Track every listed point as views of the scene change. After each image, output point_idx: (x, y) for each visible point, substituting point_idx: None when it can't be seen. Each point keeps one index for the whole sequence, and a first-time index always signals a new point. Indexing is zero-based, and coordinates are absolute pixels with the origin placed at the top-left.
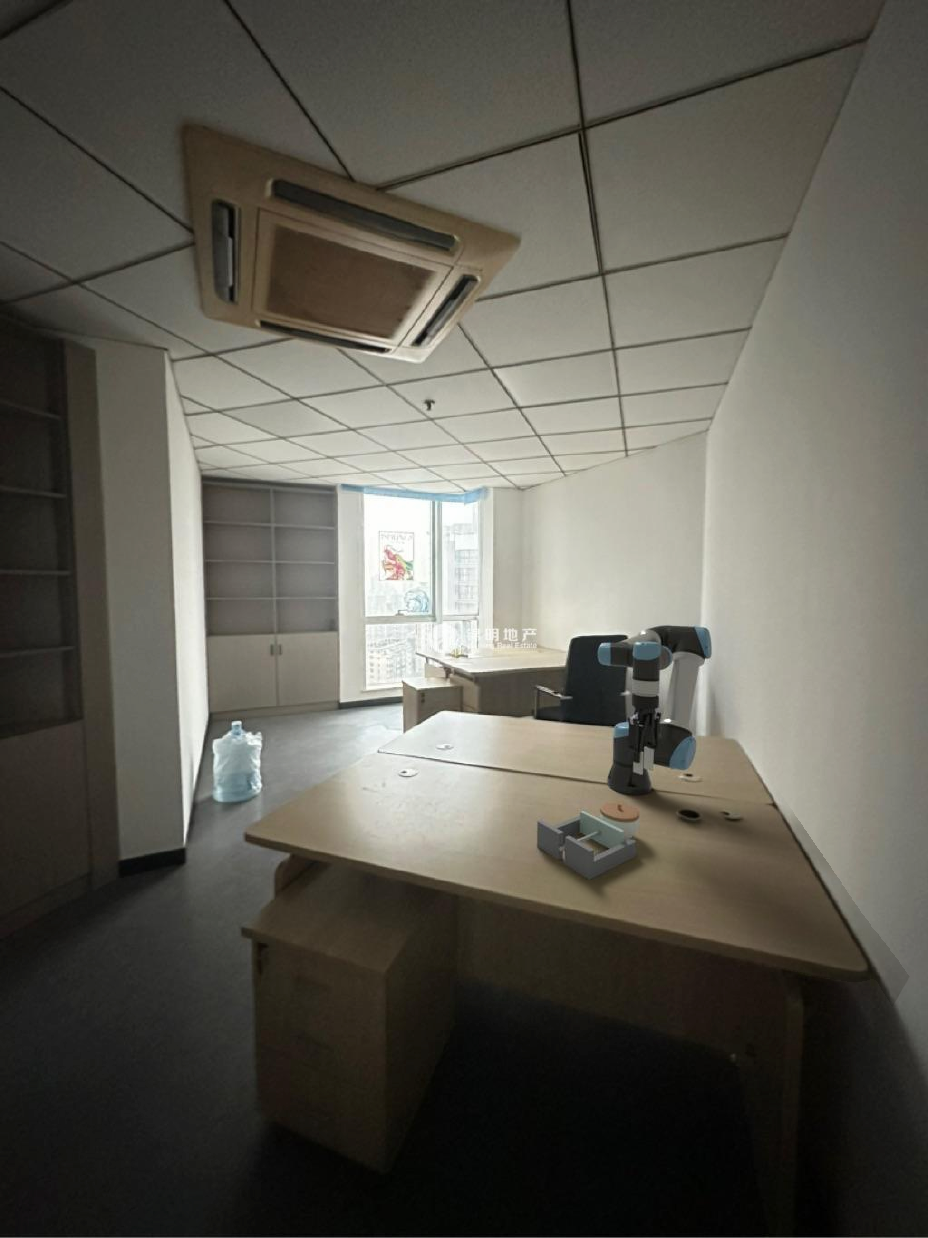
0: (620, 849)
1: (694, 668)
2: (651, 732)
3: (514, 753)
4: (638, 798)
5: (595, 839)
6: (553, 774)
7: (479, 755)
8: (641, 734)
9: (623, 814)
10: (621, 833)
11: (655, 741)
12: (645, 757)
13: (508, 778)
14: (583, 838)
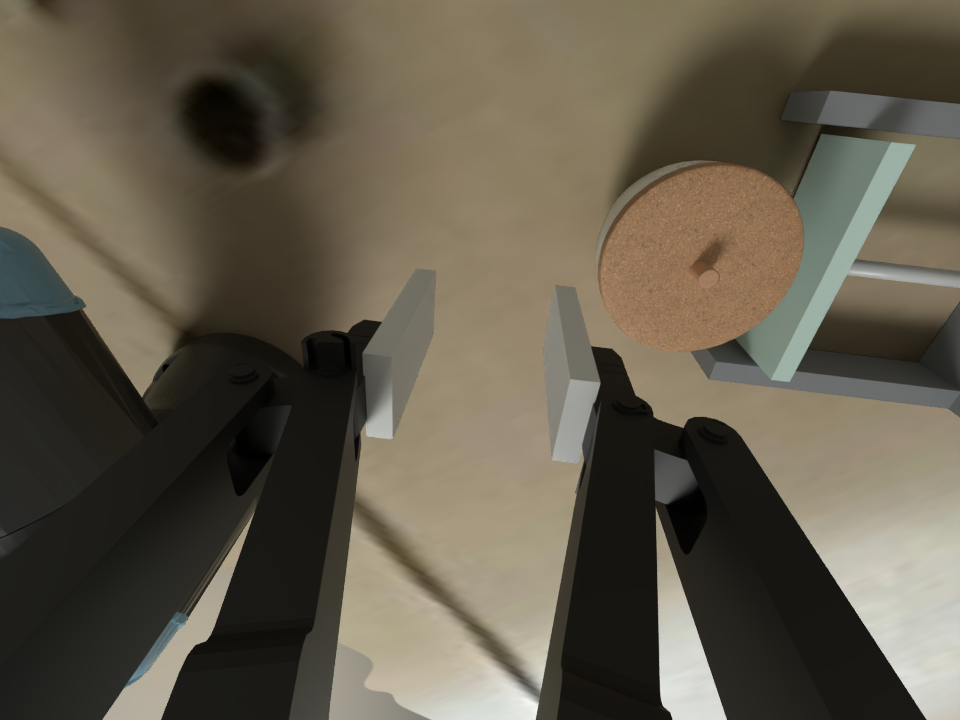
0: (957, 104)
1: None
2: (327, 540)
3: (381, 679)
4: (303, 336)
5: None
6: (403, 574)
7: (473, 712)
8: (654, 597)
9: (752, 224)
10: (909, 144)
11: (259, 408)
12: (416, 367)
13: (537, 624)
14: (932, 274)
